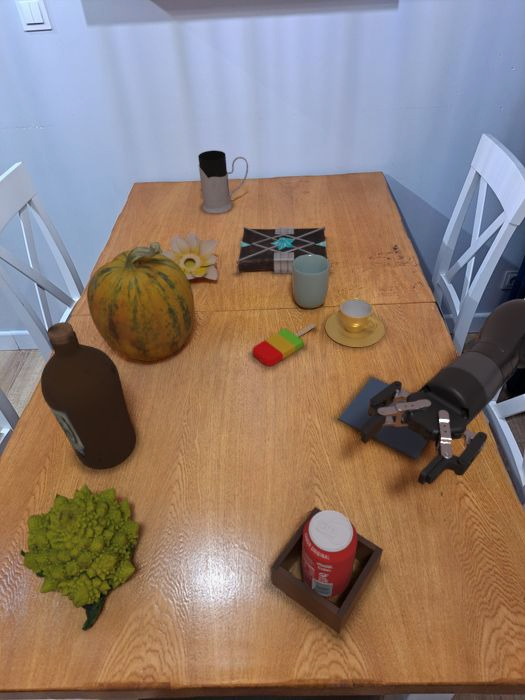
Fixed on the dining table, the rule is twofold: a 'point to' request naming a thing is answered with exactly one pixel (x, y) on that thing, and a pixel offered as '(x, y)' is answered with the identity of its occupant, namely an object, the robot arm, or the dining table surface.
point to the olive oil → (87, 400)
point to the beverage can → (328, 552)
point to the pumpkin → (142, 303)
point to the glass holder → (216, 181)
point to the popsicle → (279, 346)
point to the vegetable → (83, 547)
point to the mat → (388, 435)
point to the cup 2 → (355, 324)
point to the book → (278, 248)
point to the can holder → (309, 597)
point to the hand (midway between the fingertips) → (390, 458)
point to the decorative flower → (193, 256)
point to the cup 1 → (310, 280)
